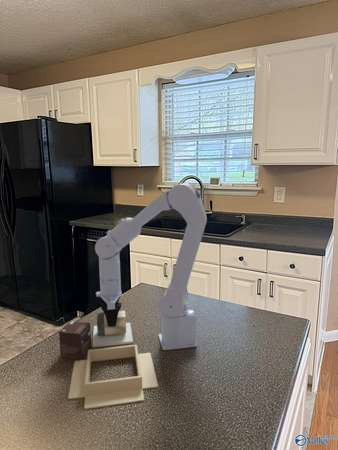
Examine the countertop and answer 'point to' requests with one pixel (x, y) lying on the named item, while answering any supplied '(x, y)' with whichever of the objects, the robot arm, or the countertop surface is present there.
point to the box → (75, 340)
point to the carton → (114, 388)
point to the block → (105, 330)
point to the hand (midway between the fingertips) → (111, 322)
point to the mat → (112, 338)
